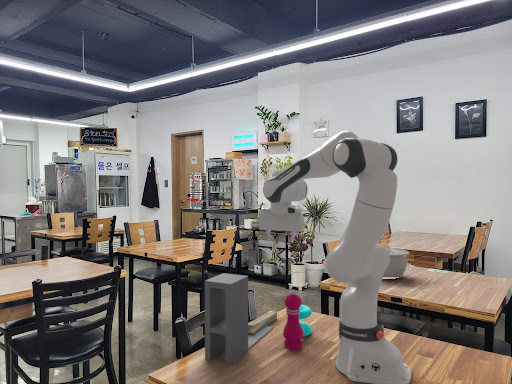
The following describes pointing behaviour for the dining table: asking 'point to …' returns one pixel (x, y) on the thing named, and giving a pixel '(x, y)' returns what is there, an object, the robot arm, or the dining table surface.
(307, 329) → the donuts
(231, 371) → the dining table surface
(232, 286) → the stand
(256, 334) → the mat
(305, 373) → the dining table surface
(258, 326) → the bar
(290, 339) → the pepper mill
